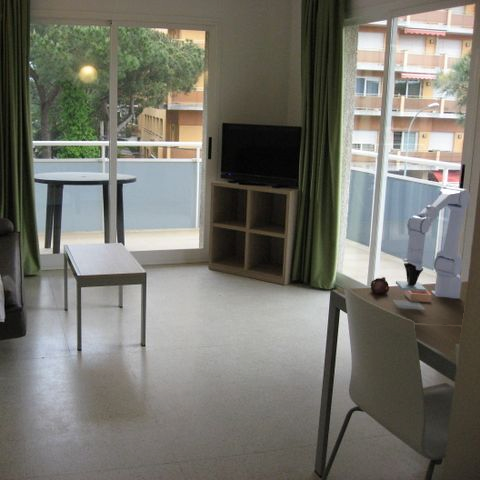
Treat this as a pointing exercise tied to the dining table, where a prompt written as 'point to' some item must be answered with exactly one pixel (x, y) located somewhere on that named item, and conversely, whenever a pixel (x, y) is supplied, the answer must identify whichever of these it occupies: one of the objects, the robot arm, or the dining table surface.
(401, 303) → the mat
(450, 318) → the dining table surface
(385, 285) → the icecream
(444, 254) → the robot arm
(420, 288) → the lid
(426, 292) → the orange open box
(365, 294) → the dining table surface
